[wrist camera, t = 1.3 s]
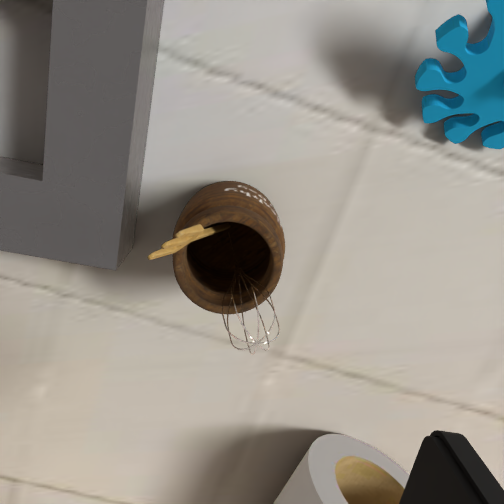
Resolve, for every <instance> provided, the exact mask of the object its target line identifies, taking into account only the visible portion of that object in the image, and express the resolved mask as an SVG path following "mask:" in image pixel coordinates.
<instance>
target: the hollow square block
mask: <svg viewBox="0 0 504 504" xmlns="http://www.w3.org/2000/svg"><path fill="white" fill-rule="evenodd" d="M163 5H164V0H53V9H52V26H51V43H50V61H49V78H48V95H47V112H46V129H45V146H44V163H43V165H41V164H36V163H31V162H26V161H21V160H16V159H10V158H5V157H0V250H1V251H7V252H13V253H19V254H24V255H30V256H36V257H42V258H48V259H53V260H59V261H65V262H71V263H76V264H82V265H88V266H94V267H99V268H105V269H111V270H117V268H118V267H119V265H120V264H121V263H122V261H123V260H124V259H125V257H126V256H127V255H128V253H129V252H130V251H131V249H132V248H133V242H134V234H135V226H136V218H137V210H138V203H139V195H140V187H141V179H142V171H143V163H144V155H145V147H146V139H147V132H148V124H149V116H150V108H151V100H152V92H153V84H154V76H155V69H156V61H157V53H158V45H159V37H160V29H161V21H162V13H163Z"/></svg>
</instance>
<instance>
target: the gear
mask: <svg viewBox="0 0 504 504" xmlns="http://www.w3.org/2000/svg"><path fill="white" fill-rule="evenodd" d="M486 3H487V8H488V11H489V13H490V14H491V15H492V23H491V26H490V29H489V32H488V34H487V36H486V37H485V38H484V39H483V40H482V41H480V42H478V43H474V44H470V43H467V40H468V36H469V35H468V28H467V22H466V19H465V18H464V17H463V16H461V15H456V16H454V17H452V18H450V19H449V20H447V21H446V22H445V23H443V24H442V25H441V26H440V27H439V28H438V29H437V30H435V31H436V41H437V46H438V48H439V49H440V50H441V51H443V52H448V53H451V54H453V55H455V56H457V57H458V58H459V59H460V60H461V61H462V62H463V64H464V66H463V67H462V68H461V69H460V70H459V71H456V72H453V73H449V72H446V71H444V70H443V68H442V66H441V64H440V62H439V61H438V60H436V59H433V58H428V59H425V60H424V61H423V62H422V64H421V65H420V66H419V68H418V70H417V73H416V75H415V84H416V88H417V89H418V90H420V91H430V90H448V91H452V92H455V93H457V94H459V95H458V96H457V97H455V98H451V99H448V98H444V97H442V96H440V95H437V94H430V95H426V96H424V97H423V99H422V115H423V120H424V123H434V122H437V121H439V120H441V119H443V118H445V117H447V116H451V115H455V114H463V113H474V114H472V115H470V116H460V117H452V118H449V119H448V120H446V121H445V122H444V131H445V136H446V137H447V138H448V139H449V140H450V141H451V142H453V143H455V144H456V143H460V142H462V141H464V140H466V139H467V138H468V136H469V135H470V134H472V133H473V132H474V131H476V130H477V129H479V128H481V127H483V126H485V125H488V124H491V123H494V122H497V121H501V122H499V123H496V124H493V125H490V126H488V127H486V128H485V129H484V130H483V131H482V133H481V137H482V143H483V146H485V147H488V148H494V149H502V148H504V0H486Z"/></svg>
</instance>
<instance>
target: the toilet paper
mask: <svg viewBox="0 0 504 504" xmlns="http://www.w3.org/2000/svg"><path fill="white" fill-rule="evenodd" d="M409 476H410V475H409V474H408V473H407V472H406V471H405V470H404V469H403V468H402V467H401V466H399V465H398V464H397V463H396V462H395V461H393V460H392V459H391V458H389V457H388V456H387V455H385V454H384V453H382V452H381V451H379V450H378V449H376V448H375V447H373V446H371V445H369V444H367V443H365V442H363V441H360V440H358V439H355V438H353V437H350V436H347V435H342V434H326V435H323V436H321V437H319V438H317V439H316V440H315V441H314V442H313V443H312V445H311V447H310V448H309V450H308V451H307V453H306V454H305V456H304V457H303V459H302V460H301V462H300V463H299V465H298V466H297V468H296V470H295V471H294V473H293V474H292V476H291V477H290V479H289V480H288V482H287V483H286V485H285V486H284V488H283V489H282V491H281V493H280V494H279V496H278V497H277V499H276V500H275V502H274V503H273V504H399V502H400V499H401V497H402V494H403V491H404V489H405V486H406V484H407V481H408V478H409Z"/></svg>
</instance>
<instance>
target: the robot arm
mask: <svg viewBox="0 0 504 504" xmlns="http://www.w3.org/2000/svg"><path fill="white" fill-rule="evenodd" d="M399 504H504V490H503V488H502V487H501V486H500V484H499V483H498V482H497V480H496V479H495V477H494V476H493V475H492V473H491V472H490V471H489V469H488V468H487V466H486V465H485V464H484V462H483V461H482V460H481V458H480V457H479V455H478V454H477V453H476V451H475V450H474V449H473V447H472V446H471V444H470V443H469V442H468V440H467V439H466V438H465V437H464V436H463V435H461V434H458V433H452V432H445V431H438V430H437V431H434V432H432V433H431V435H430V436H426V437H425V438H424V440H423V442H422V444H421V447H420V449H419V452H418V455H417V457H416V460H415V463H414V465H413V468H412V470H411V473H410V476H409V478H408V481H407V484H406V486H405V489H404V491H403V494H402V497H401V499H400V502H399Z"/></svg>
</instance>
